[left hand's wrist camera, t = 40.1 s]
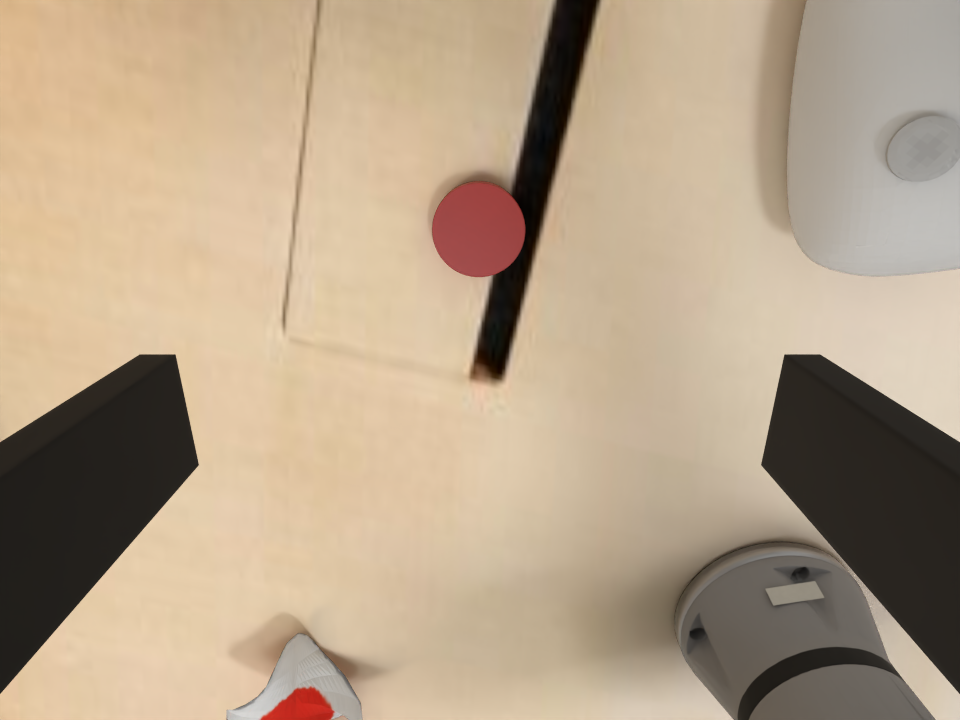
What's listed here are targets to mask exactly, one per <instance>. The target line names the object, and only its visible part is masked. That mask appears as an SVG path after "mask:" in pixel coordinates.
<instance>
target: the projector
mask: <svg viewBox="0 0 960 720" xmlns="http://www.w3.org/2000/svg"><path fill="white" fill-rule="evenodd" d="M787 195H788V209H789V215H790V222H791V227H792V230H793V234H794V237H795V239H796V241H797V244H798V245H799V247H800V248H801V250H802V252H803V253H804V254H805V255H806V256H807V257H808V258H809V259H811V260H812V261H813V262H815V263H817V264H818V265H821V266H823V267H825V268H828V269H831V270H834V271H838V272H842V273H847V274H852V275H860V276H897V275H911V274H921V273H930V272H938V271H946V270H954V269H959V268H960V0H806V4H805V9H804V14H803V19H802V25H801V30H800V36H799V41H798V48H797V55H796V62H795V69H794V76H793V85H792V95H791V104H790V115H789V130H788V149H787Z"/></svg>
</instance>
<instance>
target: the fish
mask: <svg viewBox="0 0 960 720" xmlns="http://www.w3.org/2000/svg"><path fill="white" fill-rule="evenodd" d="M342 715H343V716H345V717H346V718H347V719H349V720H363V718H362V710H361V703H360V701H359V699H358V697H357V696H356V694H355V692H354V690H353V689H352V687H351V685H350V684H349V682H348V680H347V678H346V677H345V675H344V674H343V673H342V672H341V671H340V670H339V669H338V667H337V666H336V665H335V664H334V663H333V662H332V661H331V660H330V659H329V658H328V657H327V656H326V655H325V654H324V653H323V652H322V651H321V649H320V648H319V647H318V646H317V645H316V643H315V642H314V641H313V640H312V639H311V638H310V637H309V636H307V635H305V634H302V633H298V634H296V635H295V636H294V637H293V638H292V639H291V640H290V641H289V642H288V643H287V644H286V646H285V648H284V650H283V651H282V654H281V656H280V658H279V660H278V662H277V664H276V667H275V669H274V671H273V673H272V675H271V677H270V680H269V682H268V684H267V686H266V688H265V689H264V690H263V691H262V692H261V693H260V694H259V696H258V697H256V698H255V699H253V700H252V701H250V702H249V703H247V704H246V705H243V706H241V707H239V708H236V709H234V710H227V720H331V719H334V718H337V717H340V716H342Z"/></svg>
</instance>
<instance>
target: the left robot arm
mask: <svg viewBox="0 0 960 720" xmlns="http://www.w3.org/2000/svg"><path fill="white" fill-rule="evenodd" d="M198 465H199V464H198V459H197V454H196V450H195V445H194V440H193V435H192V431H191V426H190V421H189V416H188V412H187V407H186V402H185V397H184V393H183V388H182V383H181V378H180V374H179V369H178V364H177V360H176V355H138V356H137V357H135V358H134V359H132V360H130V361H129V362H127V363H126V364H124V365H123V366H121V367H119V368H118V369H116V370H115V371H113V372H111V373H110V374H108V375H107V376H105V377H103V378H102V379H100V380H99V381H97V382H95V383H94V384H92V385H91V386H89V387H87V388H86V389H84V390H83V391H81V392H80V393H78V394H76V395H75V396H73V397H72V398H70V399H68V400H67V401H65V402H64V403H62V404H60V405H59V406H57V407H56V408H54V409H52V410H51V411H49V412H48V413H46V414H45V415H43V416H41V417H40V418H38V419H37V420H35V421H33V422H32V423H30V424H29V425H27V426H25V427H24V428H22V429H21V430H19V431H17V432H16V433H14V434H13V435H11V436H9V437H8V438H6V439H5V440H3V441H2V442H0V694H1V692H2V691H3V690H4V689H5V688H6V687H7V685H8V684H9V683H10V682H11V681H12V680H13V679H14V677H15V676H16V675H17V674H18V673H19V672H20V671H21V669H22V668H23V667H24V666H25V665H26V664H27V662H28V661H29V660H30V659H31V658H32V657H33V656H34V654H35V653H36V652H37V651H38V650H39V649H40V647H41V646H42V645H43V644H44V643H45V642H46V641H47V639H48V638H49V637H50V636H51V635H52V634H53V632H54V631H55V630H56V629H57V628H58V627H59V626H60V624H61V623H62V622H63V621H64V620H65V619H66V617H67V616H68V615H69V614H70V613H71V612H72V611H73V609H74V608H75V607H76V606H77V605H78V604H79V603H80V601H81V600H82V599H83V598H84V597H85V596H86V594H87V593H88V592H89V591H90V590H91V589H92V588H93V586H94V585H95V584H96V583H97V582H98V581H99V579H100V578H101V577H102V576H103V575H104V574H105V573H106V571H107V570H108V569H109V568H110V567H111V566H112V564H113V563H114V562H115V561H116V560H117V559H118V558H119V556H120V555H121V554H122V553H123V552H124V551H125V549H126V548H127V547H128V546H129V545H130V544H131V543H132V541H133V540H134V539H135V538H136V537H137V536H138V535H139V533H140V532H141V531H142V530H143V529H144V528H145V526H146V525H147V524H148V523H149V522H150V521H151V520H152V518H153V517H154V516H155V515H156V514H157V513H158V511H159V510H160V509H161V508H162V507H163V506H164V505H165V503H166V502H167V501H168V500H169V499H170V498H171V496H172V495H173V494H174V493H175V492H176V491H177V490H178V488H179V487H180V486H181V485H182V484H183V483H184V481H185V480H186V479H187V478H188V477H189V476H190V475H191V473H192V472H193V471H194V470H195V469H196V468H197V467H198ZM761 465H762V467H763V468H764V469H765V470H766V471H767V472H768V473H769V475H770V476H771V477H772V478H773V479H774V480H775V481H776V483H777V484H778V485H779V486H780V487H781V488H782V490H783V491H784V492H785V493H786V494H787V495H788V496H789V498H790V499H791V500H792V501H793V502H794V503H795V505H796V506H797V507H798V508H799V509H800V510H801V511H802V513H803V514H804V515H805V516H806V517H807V518H808V520H809V521H810V522H811V523H812V524H813V525H814V526H815V528H816V529H817V530H818V531H819V532H820V533H821V535H822V536H823V537H824V538H825V539H826V540H827V541H828V543H829V544H830V545H831V546H832V547H833V548H834V549H835V551H836V552H837V553H838V554H839V555H840V556H841V558H842V559H843V560H844V561H845V562H846V563H847V564H848V566H849V567H850V568H851V569H852V570H853V571H854V573H855V574H856V575H857V576H858V577H859V578H860V579H861V581H862V582H863V583H864V584H865V585H866V586H867V588H868V589H869V590H870V591H871V592H872V593H873V594H874V596H875V597H876V598H877V599H878V600H879V601H880V603H881V604H882V605H883V606H884V607H885V608H886V609H887V611H888V612H889V613H890V614H891V615H892V616H893V617H894V619H895V620H896V621H897V622H898V623H899V624H900V626H901V627H902V628H903V629H904V630H905V631H906V632H907V634H908V635H909V636H910V637H911V638H912V639H913V641H914V642H915V643H916V644H917V645H918V646H919V647H920V649H921V650H922V651H923V652H924V653H925V654H926V656H927V657H928V658H929V659H930V660H931V661H932V662H933V664H934V665H935V666H936V667H937V668H938V669H939V671H940V672H941V673H942V674H943V675H944V676H945V677H946V679H947V680H948V681H949V682H950V683H951V684H952V685H953V687H954V688H955V689H956V690H957V691H958V692H959V694H960V442H958V441H957V440H955V439H954V438H952V437H951V436H949V435H947V434H946V433H944V432H943V431H941V430H939V429H938V428H936V427H935V426H933V425H931V424H930V423H928V422H927V421H925V420H923V419H922V418H920V417H919V416H917V415H915V414H914V413H912V412H911V411H909V410H908V409H906V408H904V407H903V406H901V405H900V404H898V403H896V402H895V401H893V400H892V399H890V398H888V397H887V396H885V395H884V394H882V393H880V392H879V391H877V390H876V389H874V388H873V387H871V386H869V385H868V384H866V383H865V382H863V381H861V380H860V379H858V378H857V377H855V376H853V375H852V374H850V373H849V372H847V371H845V370H844V369H842V368H841V367H839V366H837V365H836V364H834V363H833V362H831V361H830V360H828V359H826V358H825V357H823V356H822V355H784V360H783V364H782V369H781V374H780V378H779V383H778V388H777V393H776V397H775V402H774V407H773V412H772V416H771V421H770V426H769V431H768V435H767V440H766V445H765V450H764V454H763V459H762V464H761ZM674 628H675V634H676V637H677V640H678V643H679V646H680V648H681V651H682V653H683V656H684V658H685V660H686V662H687V663H688V665H689V666H690V668H691V669H692V671H693V672H694V673H695V675H696V676H697V677H698V678H699V679H700V681H701V682H702V683H703V684H704V685H705V686H706V688H707V689H708V690H709V691H710V692H711V693H712V695H713V696H714V697H715V698H716V699H717V700H718V702H719V703H720V704H721V705H722V706H723V708H724V709H725V710H726V711H727V712H728V713H729V715H730V716H731V717H732V718H733V719H734V720H935V718H934V717H933V716H932V715H931V713H930V712H929V711H928V710H927V708H926V707H925V706H924V705H923V703H922V702H921V701H920V700H919V698H918V697H917V696H916V695H915V693H914V692H913V691H912V690H911V688H910V687H909V686H908V685H907V684H906V682H905V681H904V680H903V679H902V677H901V676H900V675H899V673H898V672H897V671H896V670H895V668H894V667H893V666H892V664H891V663H890V661H889V659H888V657H887V654H886V651H885V649H884V646H883V643H882V640H881V638H880V635H879V632H878V630H877V627H876V624H875V621H874V619H873V616H872V613H871V611H870V608H869V605H868V602H867V600H866V598H865V596H864V594H863V592H862V590H861V588H860V586H859V585H858V583H857V582H856V581H855V579H854V578H853V577H852V576H851V575H850V574H849V572H848V571H847V570H846V569H845V568H844V567H843V566H842V564H841V563H840V562H838V561H837V560H836V559H835V558H834V557H832V556H831V555H829V554H828V553H826V552H824V551H822V550H819V549H817V548H814V547H811V546H808V545H803V544H798V543H789V542H773V543H764V544H758V545H753V546H749V547H746V548H742V549H739V550H737V551H734V552H732V553H729V554H727V555H725V556H723V557H721V558H720V559H718V560H716V561H715V562H713V563H712V564H710V565H709V566H707V567H706V568H705V569H703V570H702V571H701V572H700V573H699V574H698V575H697V576H696V577H695V578H694V579H693V580H692V581H691V582H690V583H689V585H688V586H687V588H686V589H685V590H684V592H683V594H682V596H681V598H680V600H679V602H678V605H677V608H676V612H675V618H674Z"/></svg>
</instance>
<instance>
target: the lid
mask: <svg viewBox="0 0 960 720" xmlns="http://www.w3.org/2000/svg"><path fill="white" fill-rule="evenodd" d="M432 234H433V240H434V244H435V247H436V249H437V251H438V253H439V255H440V257H441V258H442V259H443V260H444V262H445V263H446V264H447V265H448V266H449V267H451V268H452V269H454V270H455V271H457V272H459V273H461V274H464V275H467V276H472V277H485V276H490V275H494V274H496V273H499V272H501V271H502V270H504V269H505V268H507V267H508V266H509V265H510V264H511V263H512V262H513V261H514V260H515V259H516V257H517V256H518V254H519V253H520V251H521V248H522V246H523V242H524V238H525V221H524V217H523V214H522V211H521V209H520V207H519V206H518V204H517V202H516V201H515V199H514V198H513V197H512V196H511V195H510V194H509V193H508V192H507V191H506V190H505V189H503V188H502V187H500V186H498V185H496V184H493V183H490V182H484V181H473V182H468V183H464V184H462V185H460V186H458V187H456V188H454V189H453V190H452V191H450V192H449V193H448V194H447V195H446V196H445V197H444V199H443V200H442V202H441V203H440V205H439V206H438V208H437V210H436V213H435V216H434V219H433V226H432Z"/></svg>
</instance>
